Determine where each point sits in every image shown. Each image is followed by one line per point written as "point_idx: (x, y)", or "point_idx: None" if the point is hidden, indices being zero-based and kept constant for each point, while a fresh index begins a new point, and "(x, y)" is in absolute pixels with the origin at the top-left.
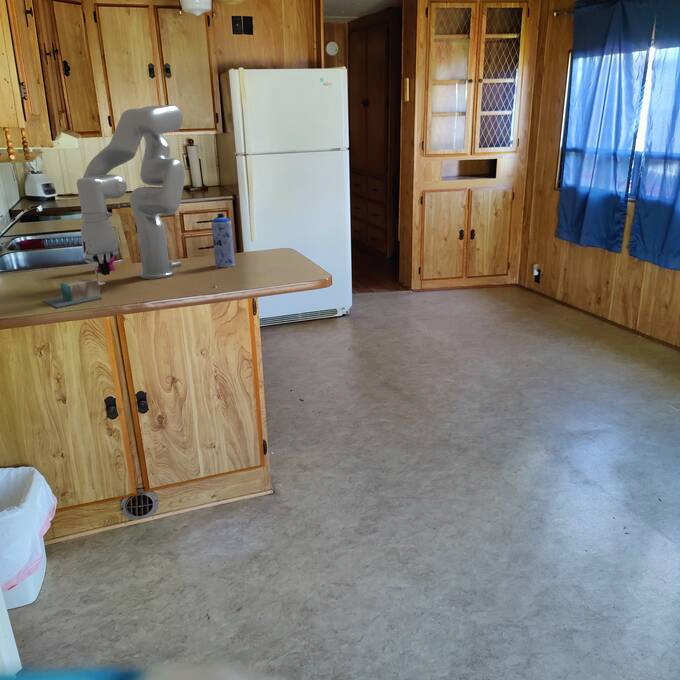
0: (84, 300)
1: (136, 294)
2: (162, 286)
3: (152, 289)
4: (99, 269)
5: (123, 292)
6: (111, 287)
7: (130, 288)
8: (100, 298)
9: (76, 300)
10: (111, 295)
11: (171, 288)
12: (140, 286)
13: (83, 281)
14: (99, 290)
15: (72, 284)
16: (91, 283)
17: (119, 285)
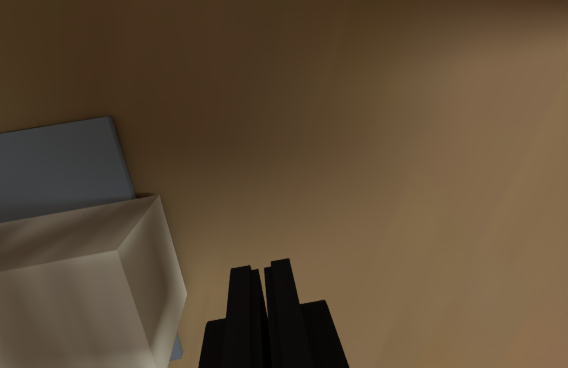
0: None
1: (376, 362)
2: (564, 275)
3: (490, 308)
4: (205, 348)
5: (338, 274)
6: (327, 61)
7: (414, 197)
8: (173, 356)
9: None
10: None
11: (563, 346)
12: (484, 186)
13: (17, 363)
14: (180, 316)
15: None
16: None
17: (399, 36)
